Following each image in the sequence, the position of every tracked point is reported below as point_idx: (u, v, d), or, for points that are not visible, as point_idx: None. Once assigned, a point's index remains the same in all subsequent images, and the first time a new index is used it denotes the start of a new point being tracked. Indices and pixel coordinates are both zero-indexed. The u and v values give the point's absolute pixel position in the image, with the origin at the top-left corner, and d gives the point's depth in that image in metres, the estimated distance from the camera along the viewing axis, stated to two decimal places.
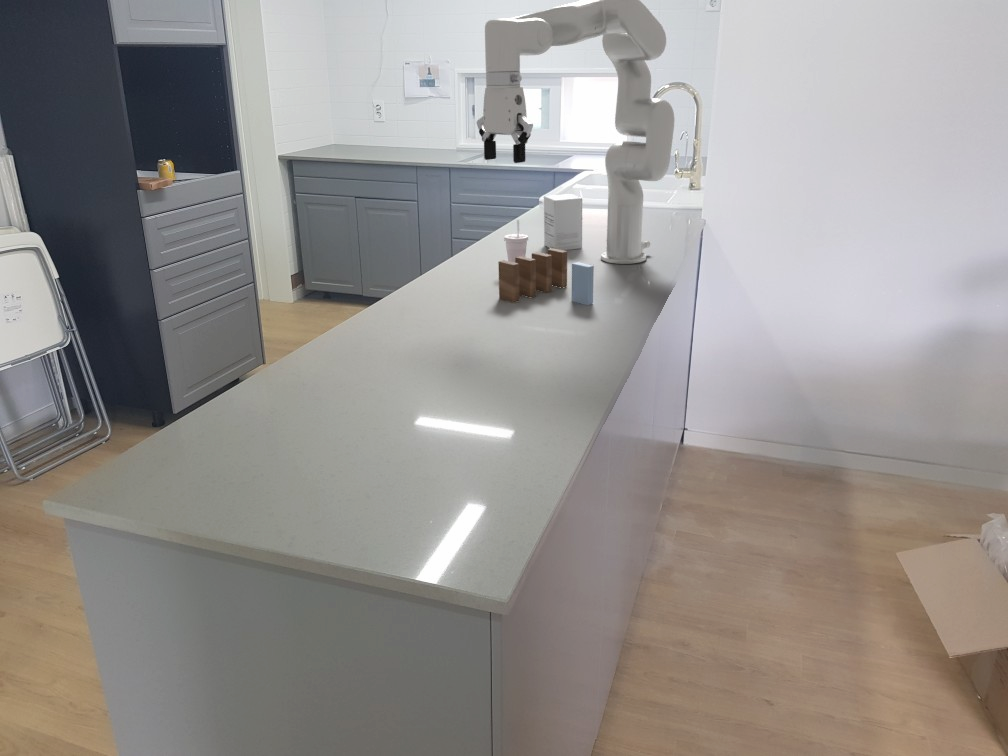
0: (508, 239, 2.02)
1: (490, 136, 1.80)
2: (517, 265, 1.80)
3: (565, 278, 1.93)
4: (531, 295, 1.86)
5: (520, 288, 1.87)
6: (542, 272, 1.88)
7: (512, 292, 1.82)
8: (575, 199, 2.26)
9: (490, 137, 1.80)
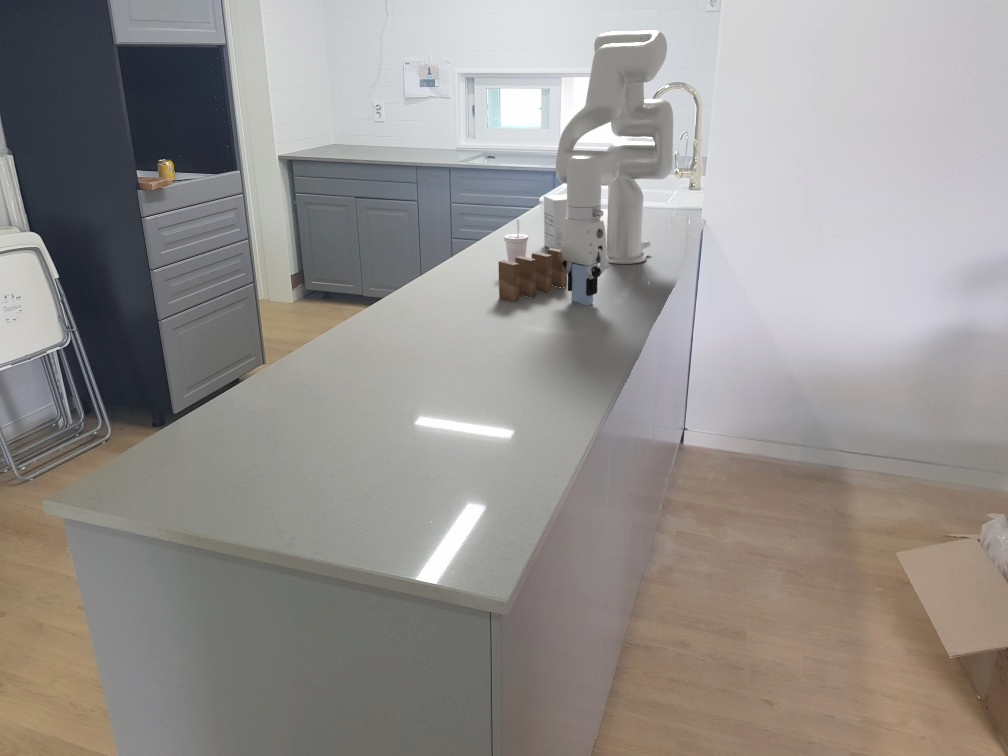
0: (508, 239, 2.02)
1: None
2: (517, 265, 1.80)
3: (565, 278, 1.93)
4: (531, 295, 1.86)
5: (520, 288, 1.87)
6: (542, 272, 1.88)
7: (512, 292, 1.82)
8: None
9: None
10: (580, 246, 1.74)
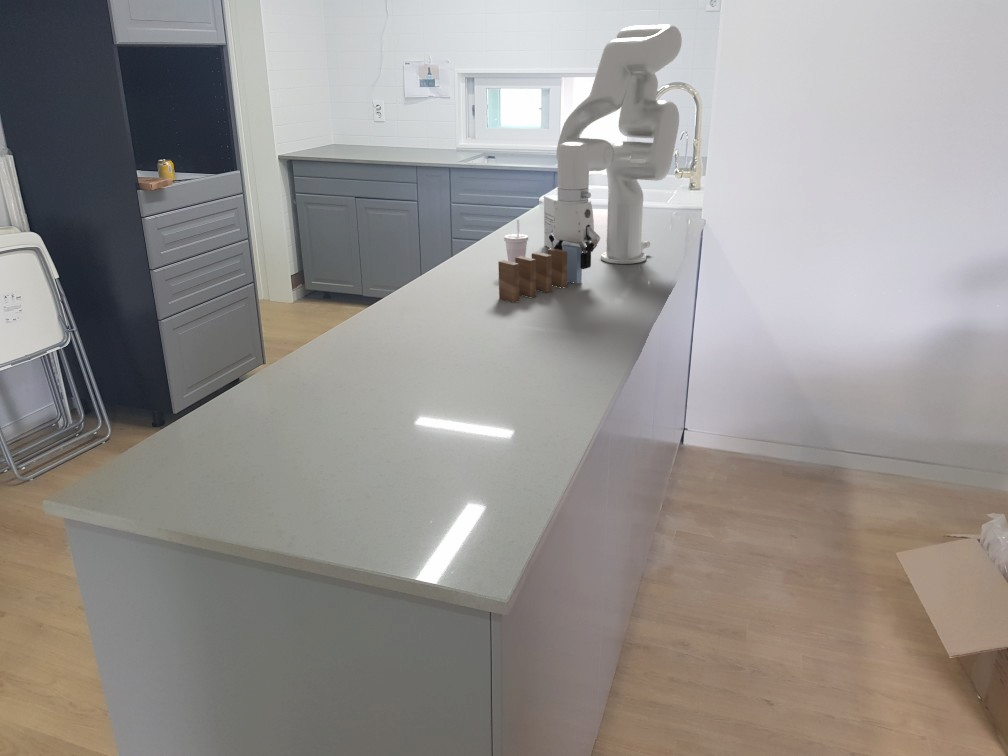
0: (508, 239, 2.02)
1: (559, 242, 1.98)
2: (517, 265, 1.80)
3: (565, 278, 1.93)
4: (531, 295, 1.86)
5: (520, 288, 1.87)
6: (542, 272, 1.88)
7: (512, 292, 1.82)
8: None
9: (559, 243, 1.98)
10: (570, 225, 1.90)
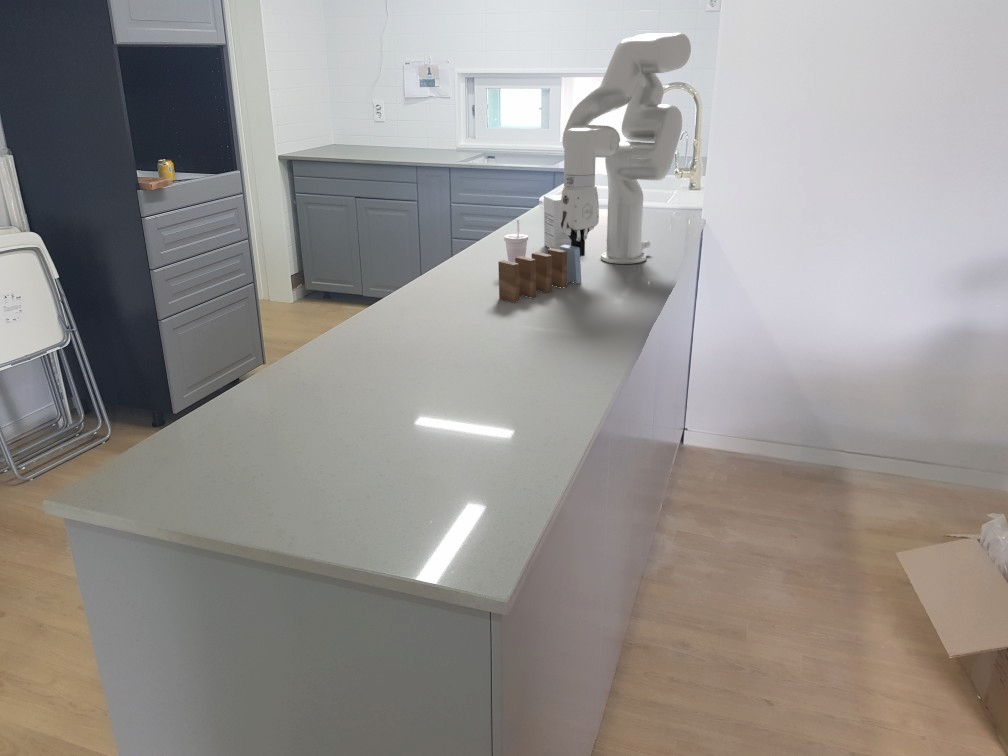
0: (508, 239, 2.02)
1: (581, 235, 1.96)
2: (517, 265, 1.80)
3: (565, 278, 1.93)
4: (531, 295, 1.86)
5: (520, 288, 1.87)
6: (542, 272, 1.88)
7: (512, 292, 1.82)
8: None
9: (581, 234, 1.96)
10: None
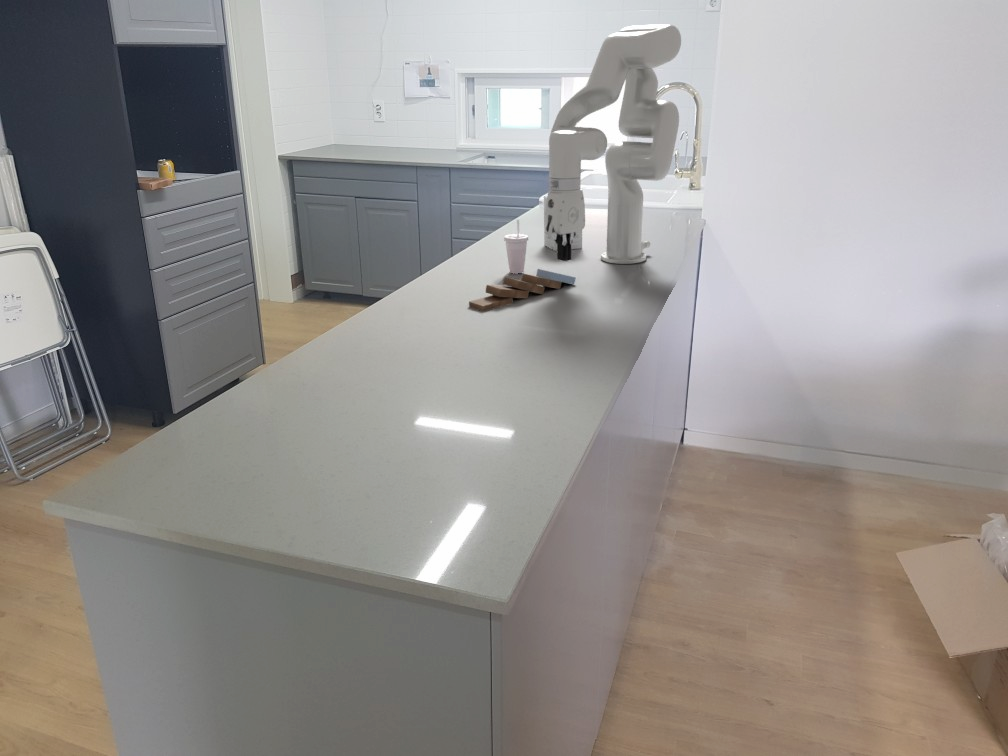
0: (508, 239, 2.02)
1: (567, 239, 1.92)
2: (484, 307, 1.77)
3: (555, 283, 1.91)
4: (526, 297, 1.85)
5: None
6: None
7: None
8: None
9: (567, 238, 1.93)
10: None
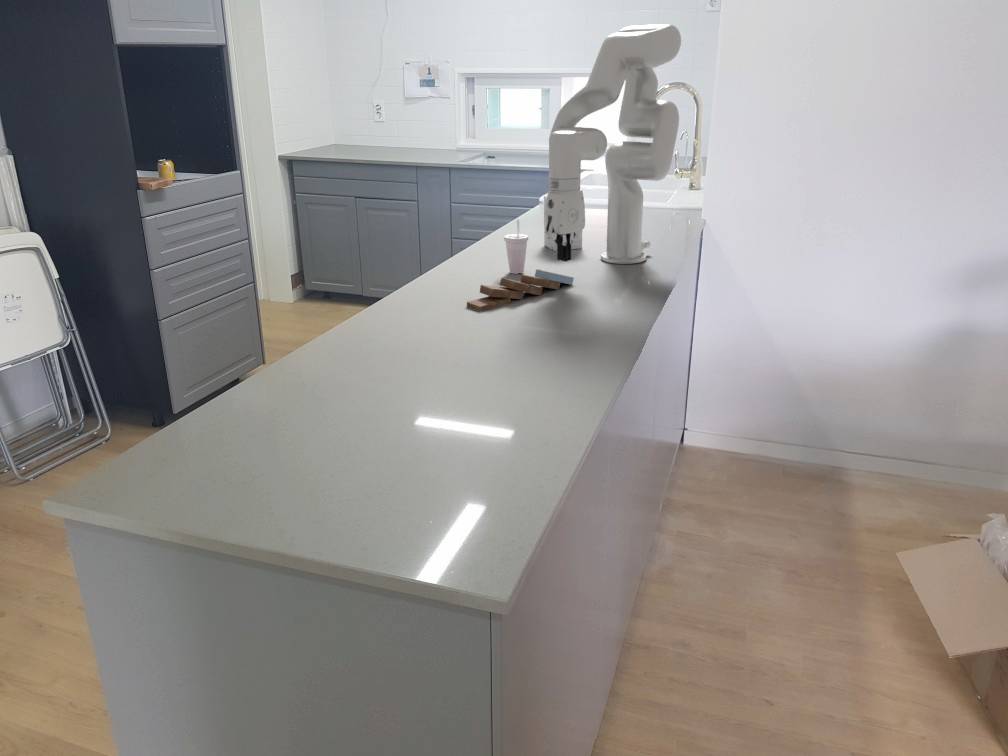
0: (508, 239, 2.02)
1: (567, 239, 1.93)
2: (481, 308, 1.77)
3: (554, 284, 1.90)
4: (520, 297, 1.84)
5: None
6: None
7: None
8: None
9: (567, 238, 1.93)
10: None
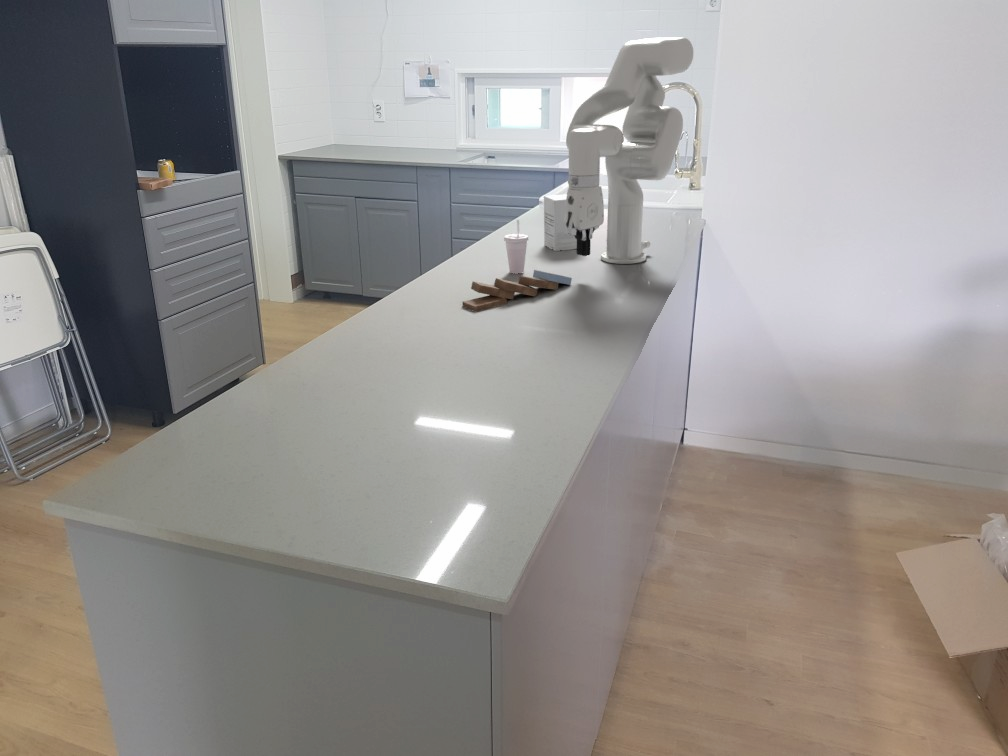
0: (508, 239, 2.02)
1: (587, 234, 1.97)
2: (476, 308, 1.77)
3: (552, 284, 1.90)
4: (511, 297, 1.83)
5: None
6: None
7: None
8: None
9: (587, 233, 1.97)
10: None
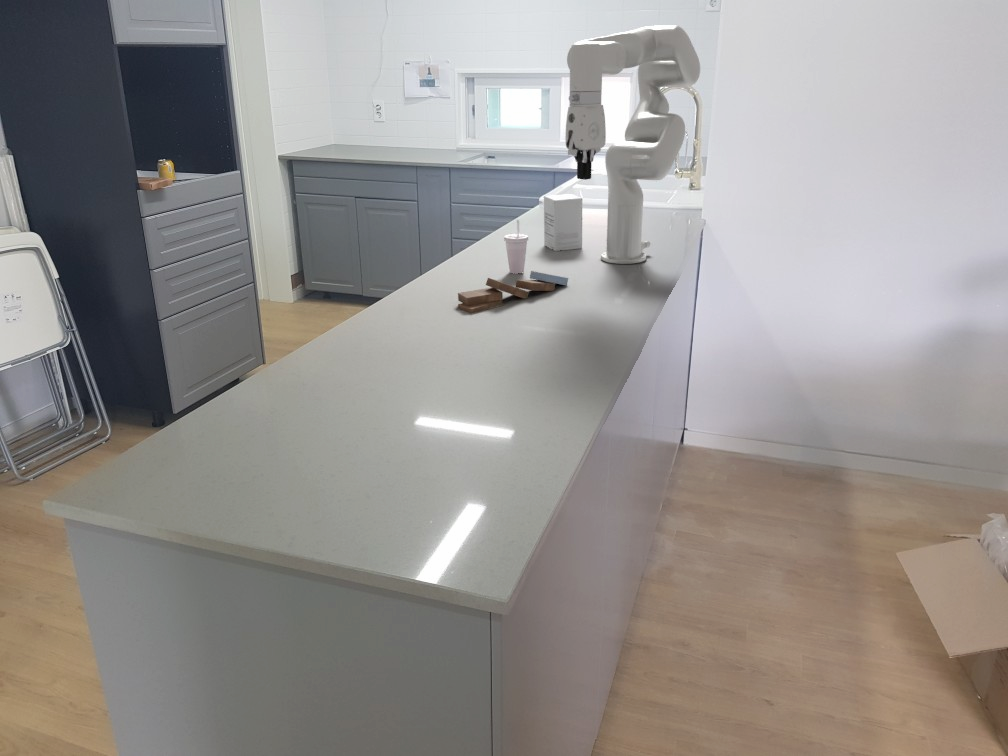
0: (508, 239, 2.02)
1: (587, 157, 1.90)
2: (473, 310, 1.75)
3: (549, 286, 1.89)
4: (500, 298, 1.81)
5: None
6: None
7: None
8: (575, 199, 2.26)
9: (587, 156, 1.90)
10: None
